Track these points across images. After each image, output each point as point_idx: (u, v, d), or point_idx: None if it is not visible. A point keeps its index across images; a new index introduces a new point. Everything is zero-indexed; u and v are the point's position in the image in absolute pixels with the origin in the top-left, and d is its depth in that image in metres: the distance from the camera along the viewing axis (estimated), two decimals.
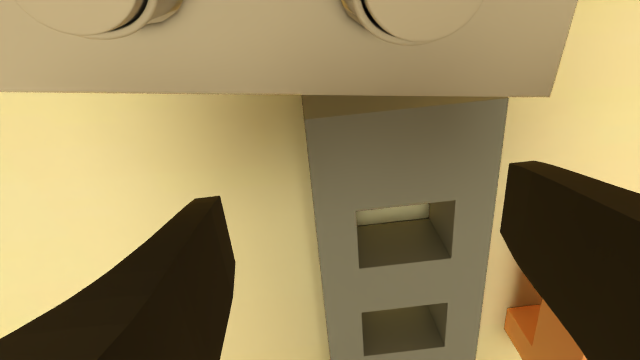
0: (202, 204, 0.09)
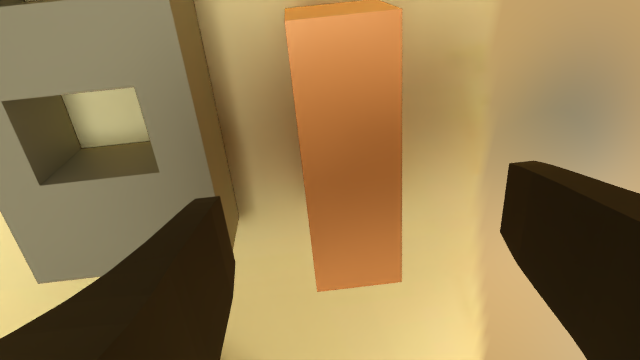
0: (202, 204, 0.09)
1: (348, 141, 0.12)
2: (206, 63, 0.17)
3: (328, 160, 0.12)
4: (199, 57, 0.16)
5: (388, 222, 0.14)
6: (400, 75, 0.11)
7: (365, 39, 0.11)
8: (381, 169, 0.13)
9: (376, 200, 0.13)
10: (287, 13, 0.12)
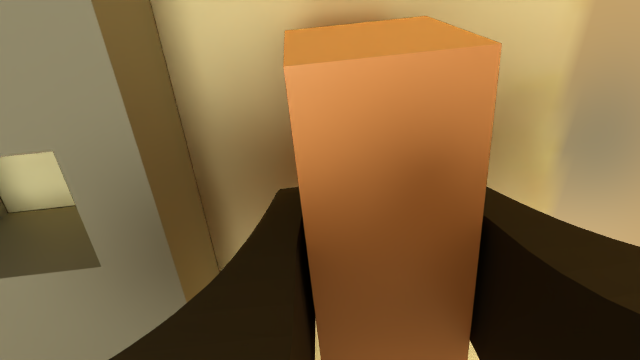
0: (293, 194, 0.09)
1: (391, 258, 0.07)
2: None
3: (356, 285, 0.07)
4: (161, 96, 0.11)
5: None
6: (486, 155, 0.07)
7: (430, 96, 0.06)
8: (441, 296, 0.08)
9: (430, 338, 0.08)
10: (288, 44, 0.07)
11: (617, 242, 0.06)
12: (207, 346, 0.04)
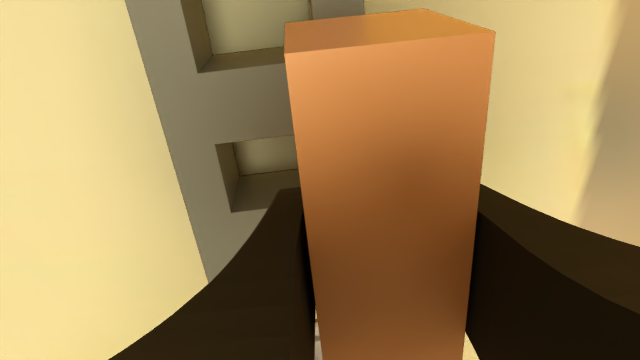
0: (293, 194, 0.09)
1: (388, 242, 0.07)
2: None
3: (355, 270, 0.08)
4: None
5: (443, 350, 0.09)
6: (481, 142, 0.07)
7: (426, 84, 0.06)
8: (437, 281, 0.08)
9: (427, 322, 0.08)
10: (289, 34, 0.07)
11: (617, 242, 0.06)
12: (207, 346, 0.04)
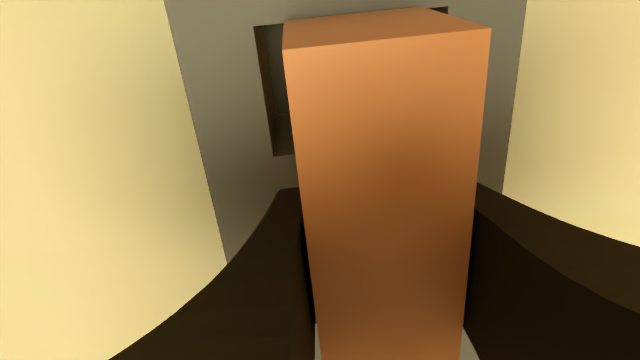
0: (293, 194, 0.09)
1: (386, 238, 0.07)
2: None
3: (353, 265, 0.08)
4: None
5: (441, 346, 0.09)
6: (478, 138, 0.07)
7: (423, 80, 0.06)
8: (435, 277, 0.08)
9: (425, 319, 0.08)
10: (287, 31, 0.07)
11: (617, 242, 0.06)
12: (207, 347, 0.04)
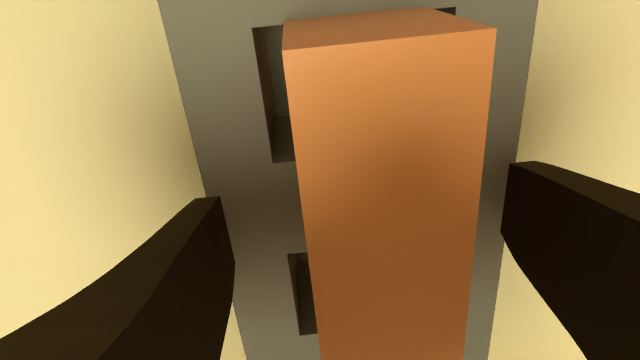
0: (202, 204, 0.09)
1: (388, 242, 0.07)
2: None
3: (354, 270, 0.08)
4: None
5: (443, 353, 0.09)
6: (482, 141, 0.07)
7: (427, 81, 0.06)
8: (438, 282, 0.08)
9: (427, 324, 0.08)
10: (287, 31, 0.07)
11: None
12: None
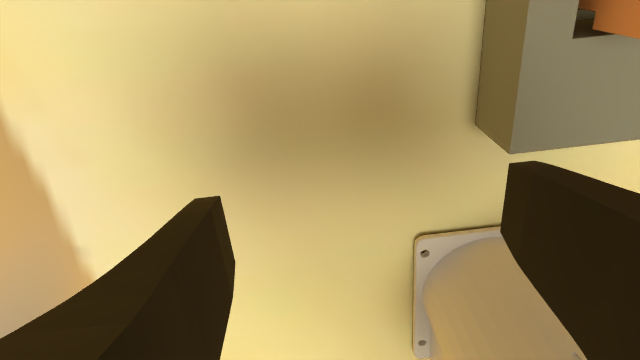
0: (202, 204, 0.09)
1: None
2: None
3: None
4: None
5: None
6: None
7: None
8: None
9: None
10: None
11: None
12: None
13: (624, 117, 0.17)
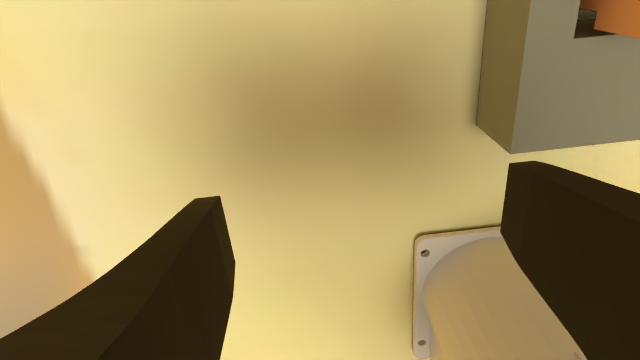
0: (202, 204, 0.09)
1: None
2: None
3: None
4: None
5: None
6: None
7: None
8: None
9: None
10: None
11: None
12: None
13: (625, 117, 0.17)
